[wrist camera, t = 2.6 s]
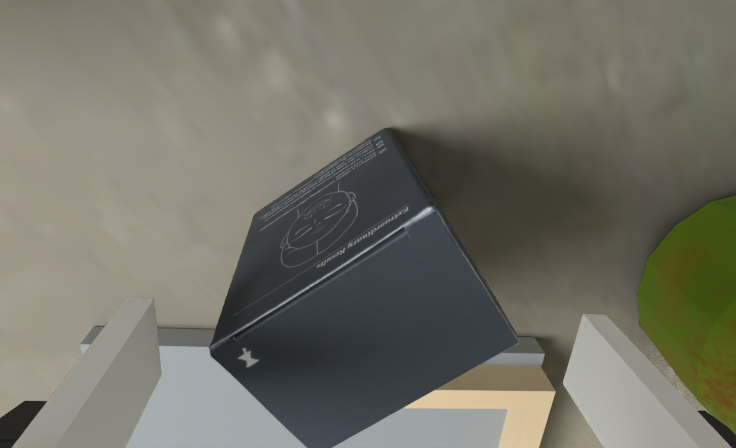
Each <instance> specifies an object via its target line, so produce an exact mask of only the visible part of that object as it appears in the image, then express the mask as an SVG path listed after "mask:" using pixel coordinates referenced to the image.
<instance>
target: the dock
mask: <svg viewBox="0 0 736 448" xmlns="http://www.w3.org/2000/svg"><path fill="white" fill-rule="evenodd" d="M103 328H104V327H95V326H94V327H93V328H92V330H91V331H90V332H89V334H88V335H87V336H86V338H85V339H84V340H83V342H82V343H81V344H80V345H81V351H82V355H83V354H84V353H85V352H86V350H87V349H88V348H89V346H90V345H91V344H92V342H93V341H94V340H95V339H96V337H97V336H98V335H99V333H100V332H101V331H102V329H103ZM215 330H216V329H178V328H157V332H158V342H159V352H160V363H161V373H162V375H161V377H160V379H159V381H158V383H157V385H156V387H155V389H154V391H153V393H152V395H151V397H150V399H149V401H148V403H147V405H146V407H145V409H144V411H143V413H142V415H141V417H140V419H139V421H138V423H137V425H136V427H135V430H134V432H133V434H132V436H131V438H130V440H129V442H128V444H127V446H126V448H307V447H305V446H304V445H303V444H302V443H301V442H300V441H299V440H298V439H297V438H296V437H295V436H293V435H292V434H291V433H290V432H289V431H288V430H287V429H286V428H285V427H284V426H283V425H282V424H281V423H280V422H279V421H278V420H277V419H276V418H275V417H274V416H273V415H272V414H271V413H270V412H269V411H267V410H266V409H265V407H264V406H263V405H262V404H261V403H260V402H259V401H258V400H256V399H255V398H254V397H253V396H252V395H251V394H250V393H249V392H248V391H247V390H246V389H245V388H244V387H243V386H242V385H241V384H240V383H239V382H238V381H237V380H236V379H235V378H234V377H233V376H232V375H231V374H230V373H229V372H228V371H227V370H226V369H224V368H223V367H222V366H221V365H220V364H219V363H218V362H217V361H215V360H214V359H213V358H212V357H211V356H210V351H209V346H210V344H211V343H212V340H213V337H214V333H215ZM518 339H519V343H518V344H517V345H515V346H513V347H511V348H509V349H507V350H506V351H504V352H502V353H500V354H498V355H496V356H494V357H493V358H491V359H489V360H487V361H486V362H484V363H482V364H480V365H479V366H477V367H475V368H473V369H471V370H469V371H468V372H466V373H464V374H463V375H461V376H459V377H457V378H456V379H454V380H452V381H450V382H448V383H446V384H445V385H443V386H441V387H439V388H437V389H436V390H434V391H432V392H431V393H429V394H427V395H425V396H423V397H422V398H420V399H418V400H416V401H414V402H413V403H411V404H409V405H407V406H406V407H404V408H402V409H400V410H398V411H397V412H395V413H393V414H391V415H389V416H388V417H386V418H384V419H382V420H381V421H379V422H377V423H375V424H374V425H372V426H370V427H368V428H366V429H365V430H363V431H361V432H359V433H358V434H356V435H354V436H352V437H350V438H348V439H347V440H345V441H343V442H341V443H340V444H338V445H336V446H334V447H332V448H539V446H540V442H541V439H542V436H543V432H544V429H545V426H546V422H547V419H548V416H549V412H550V409H551V406H552V402H553V399H554V396H555V392H556V391H555V389H554V388H553V386H552V384H551V383H550V381H549V379H548V378H547V376H546V375H545V373H544V371H543V370H542V368H541V366H542V363H543V359H544V356H545V353H544V351H543V350H542V348H541V347H540V345H539V344H538V342H537V341H536V339H535V338H534V337H518Z"/></svg>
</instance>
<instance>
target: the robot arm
mask: <svg viewBox="0 0 736 448" xmlns="http://www.w3.org/2000/svg"><path fill="white" fill-rule="evenodd" d="M161 375H162V373H161V363H160V352H159V342H158V332H157V321H156V311H155V301H154V299H153V298H126V299H125V301H124V302H123V303H122V305H121V306H120V307H119V309H118V310H117V311H116V313H115V314H114V315H113V316H112V318H111V319H110V320H109V322H108V323H107V324H106V326H105V327H104V328H103V329H102V331H101V332H100V333H99V335H98V336H97V337H96V339H95V340H94V341H93V342H92V344H91V345H90V346H89V348H88V349H87V350H86V352H85V353H84V354H83V355H82V357H81V358H80V359H79V361H78V362H77V363H76V365H75V366H74V367H73V369H72V370H71V371H70V372H69V374H68V375H67V376H66V378H65V379H64V380H63V382H62V383H61V384H60V385H59V387H58V388H57V389H56V391H55V392H54V393H53V395H52V396H51V397H50V398H49V400H48V401H24V402H23V403H21V404H20V405H18V406H17V407H15V408H14V409H13V410H11V411H10V412H8V413H7V414H5V415H4V416H3V417H1V418H0V448H126V446H127V444H128V442H129V440H130V438H131V436H132V434H133V432H134V430H135V427H136V425H137V423H138V421H139V419H140V417H141V415H142V413H143V411H144V409H145V407H146V405H147V403H148V401H149V399H150V397H151V395H152V393H153V391H154V389H155V387H156V385H157V383H158V381H159V379H160V377H161ZM563 385H564V386H565V388H566V390H567V391H568V393H569V394H570V396H571V397H572V399H573V400H574V402H575V404H576V405H577V407H578V408H579V410H580V411H581V413H582V414H583V416H584V418H585V419H586V421H587V422H588V424H589V425H590V427H591V428H592V430H593V432H594V433H595V435H596V436H597V438H598V439H599V441H600V442H601V444H602V446H603V447H604V448H736V435H735V434H734V433H733V432H732V431H731V430H730V429H729V428H728V427H727V426H726V425H725V424H723V423H722V422H720V421H719V420H717V419H716V418H715V417H713V416H712V415H710V414H709V413H707V412H706V411H697V410H696V409H695V408H694V407H693V406H692V405H691V404H690V403H689V402H688V401H687V400H686V399H685V398H684V397H683V396H682V395H681V393H680V392H679V391H678V390H677V389H676V388H675V387H674V386H673V385H672V384H671V383H670V382H669V381H668V380H667V379H666V378H665V377H664V376H663V374H662V373H661V372H660V371H659V370H658V369H657V368H656V367H655V366H654V365H653V364H652V363H651V362H650V361H649V360H648V359H647V358H646V357H645V355H644V354H643V353H642V352H641V351H640V350H639V349H638V348H637V347H636V346H635V345H634V344H633V343H632V342H631V341H630V340H629V339H628V338H627V337H626V335H625V334H624V333H623V332H622V331H621V330H620V329H619V328H618V327H617V326H616V325H615V324H614V323H613V322H612V321H611V320H610V319H609V318H608V316H607V315H598V314H583V316H582V319H581V322H580V326H579V329H578V333H577V336H576V340H575V343H574V346H573V350H572V353H571V357H570V360H569V363H568V367H567V370H566V374H565V377H564V381H563Z"/></svg>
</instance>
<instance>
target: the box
mask: <svg viewBox="0 0 736 448" xmlns="http://www.w3.org/2000/svg"><path fill="white" fill-rule="evenodd" d="M518 343H519V339H518V336H517V334H516V332H515V331H514V329H513V327H512V326H511V324H510V322H509V321H508V319H507V317H506V315H505V314H504V312H503V310H502V308H501V306H500V305H499V303H498V302H497V300H496V298H495V296H494V295H493V293H492V291H491V290H490V288H489V286H488V285H487V283H486V281H485V280H484V278H483V277H482V275H481V273H480V271H479V270H478V268H477V267H476V265H475V263H474V262H473V260H472V259H471V257H470V255H469V254H468V252H467V250H466V249H465V247H464V246H463V244H462V242H461V241H460V239H459V238H458V236H457V234H456V233H455V231H454V229H453V228H452V226H451V225H450V223H449V221H448V220H447V218H446V217H445V215H444V213H443V212H442V210H441V208H440V207H439V205H438V204H437V202H436V200H435V199H434V197H433V196H432V194H431V192H430V191H429V189H428V187H427V186H426V184H425V183H424V181H423V179H422V178H421V176H420V175H419V173H418V171H417V170H416V168H415V167H414V165H413V164H412V162H411V160H410V159H409V157H408V156H407V154H406V153H405V151H404V149H403V148H402V146H401V145H400V143H399V142H398V140H397V138H396V137H395V135H394V133H393V131H392V130H390V129H388V128H384V129H382V130H381V131H379V132H377V133H376V134H374V135H373V136H371V137H370V138H368V139H366V140H365V141H364V142H362V143H361V144H359V145H358V146H356V147H355V148H353V149H352V150H350V151H348V152H347V153H345V154H344V155H342V156H341V157H339V158H338V159H336V160H335V161H333V162H332V163H330V164H329V165H327V166H326V167H324V168H323V169H321V170H320V171H318V172H317V173H315V174H314V175H312V176H311V177H309V178H308V179H306V180H305V181H303V182H302V183H300V184H299V185H297V186H296V187H294V188H293V189H291V190H290V191H288V192H287V193H285V194H284V195H282V196H281V197H279V198H278V199H276V200H275V201H273V202H272V203H270V204H269V205H267V206H266V207H264V208H263V209H261V210H260V211H258V212H257V213H256V214H254V216H253V220H252V223H251V226H250V229H249V231H248V235H247V238H246V241H245V244H244V246H243V249H242V253H241V255H240V259H239V261H238V264H237V268H236V270H235V273H234V275H233V279H232V282H231V284H230V288H229V290H228V294H227V297H226V299H225V303H224V306H223V309H222V312H221V315H220V317H219V320H218V323H217V326H216V330H215V333H214V337H213V340H212V343H211V344H210V346H209V351H210V356H211V357H212V358H213V359H214V360H215V361H217V362H218V363H219V364H220V365H221V366H222V367H223V368H224V369H226V370H227V371H228V372H229V373H230V374H231V375H232V376H233V377H234V378H235V379H236V380H237V381H238V382H239V383H240V384H241V385H242V386H243V387H244V388H245V389H246V390H247V391H248V392H249V393H250V394H251V395H252V396H253V397H254V398H255V399H256V400H258V401H259V402H260V403H261V404H262V405H263V406H264V407H265V409H266V410H267V411H269V412H270V413H271V414H272V415H273V416H274V417H275V418H276V419H277V420H278V421H279V422H280V423H281V424H282V425H283V426H284V427H285V428H286V429H287V430H288V431H289V432H290V433H291V434H292V435H293V436H295V437H296V438H297V439H298V440H299V441H300V442H301V443H302V444H303V445H304V446H305V447H307V448H332V447H334V446H336V445H338V444H340V443H341V442H343V441H345V440H347V439H348V438H350V437H352V436H354V435H356V434H358V433H359V432H361V431H363V430H365V429H366V428H368V427H370V426H372V425H374V424H375V423H377V422H379V421H381V420H382V419H384V418H386V417H388V416H389V415H391V414H393V413H395V412H397V411H398V410H400V409H402V408H404V407H406V406H407V405H409V404H411V403H413V402H414V401H416V400H418V399H420V398H422V397H423V396H425V395H427V394H429V393H431V392H432V391H434V390H436V389H437V388H439V387H441V386H443V385H445V384H446V383H448V382H450V381H452V380H454V379H456V378H457V377H459V376H461V375H463V374H464V373H466V372H468V371H469V370H471V369H473V368H475V367H477V366H479V365H480V364H482V363H484V362H486V361H487V360H489V359H491V358H493V357H494V356H496V355H498V354H500V353H502V352H504V351H506V350H507V349H509V348H511V347H513V346H515V345H517V344H518Z"/></svg>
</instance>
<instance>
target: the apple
mask: <svg viewBox="0 0 736 448" xmlns="http://www.w3.org/2000/svg"><path fill="white" fill-rule="evenodd" d="M637 296H638V311H639V325H640V326H641V327H642V329H643V330H644V331H645V333H646V334H647V335H648V337H649V338H650V339H651V341H652V342H653V343H654V345H655V346H656V347H657V349H658V350H659V351H660V353H661V354H662V355H663V357H664V358H665V359H666V361H667V362H668V363H669V365H670V366H671V367H672V369H673V370H674V372H675V373H676V374H677V376H678V377H679V378H680V380H681V381H682V382H683V384H684V385H685V386H686V387H687V388H688V389H689V390H690V391H691V392H692V394H693V395H694V396H695V397H696V398H697V400H698V401H699V402H700V403H701V404H702V405H703V406H704V407H705V408H706V409H707V410H708V411H709V413H710V414H711V415H712V416H713V417H715V418H716V419H717V420H719V421H720V422H722V423H723V424H725V425H726V426H727V427H728V428H729V429H730V430H731V431H732V432H733V433H734V434H735V435H736V195H735V196H731V197H727V198H723V199H718V200H714V201H711V202H710V203H708V204H707V205H705V206H704V207H702V208H701V209H699V210H698V211H696V212H695V213H693V214H692V215H690V216H689V217H687V218H686V219H684V220H683V221H681V222H680V223H678V224H677V225H675V226H674V227H673V228H672V230H671V231H670V232H669V233H668V234H667V236H666V237H665V238H664V239H663V241H662V242H661V243H660V244H659V246H658V247H657V248H656V249H655V250H654V252H653V253H652V254H651V255H650V257H649V258H648V259H647V262H646V266H645V269H644V273H643V276H642V280H641V283H640V287H639V290H638V294H637Z"/></svg>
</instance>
